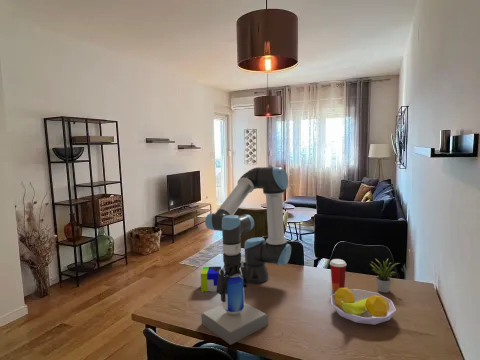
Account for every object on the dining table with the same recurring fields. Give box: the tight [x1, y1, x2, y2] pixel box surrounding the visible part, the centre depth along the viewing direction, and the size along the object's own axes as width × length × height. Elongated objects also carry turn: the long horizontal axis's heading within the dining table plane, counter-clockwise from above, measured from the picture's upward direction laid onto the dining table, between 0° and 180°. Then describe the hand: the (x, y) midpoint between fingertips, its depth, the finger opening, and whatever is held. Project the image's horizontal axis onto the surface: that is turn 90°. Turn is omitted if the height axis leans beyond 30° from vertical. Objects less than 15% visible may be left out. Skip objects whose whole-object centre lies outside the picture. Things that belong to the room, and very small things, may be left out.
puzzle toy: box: [200, 266, 222, 291], centre depth 169 cm, size 10×10×10 cm
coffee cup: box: [329, 258, 347, 292], centre depth 162 cm, size 8×8×15 cm
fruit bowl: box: [330, 287, 397, 326], centre depth 136 cm, size 28×27×11 cm
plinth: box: [200, 302, 269, 346], centre depth 132 cm, size 20×20×5 cm
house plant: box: [369, 258, 401, 293], centre depth 159 cm, size 14×14×16 cm
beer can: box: [225, 272, 245, 314], centre depth 131 cm, size 8×8×16 cm
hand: (233, 304), depth 131 cm, fingers closed on beer can, 8 cm apart
